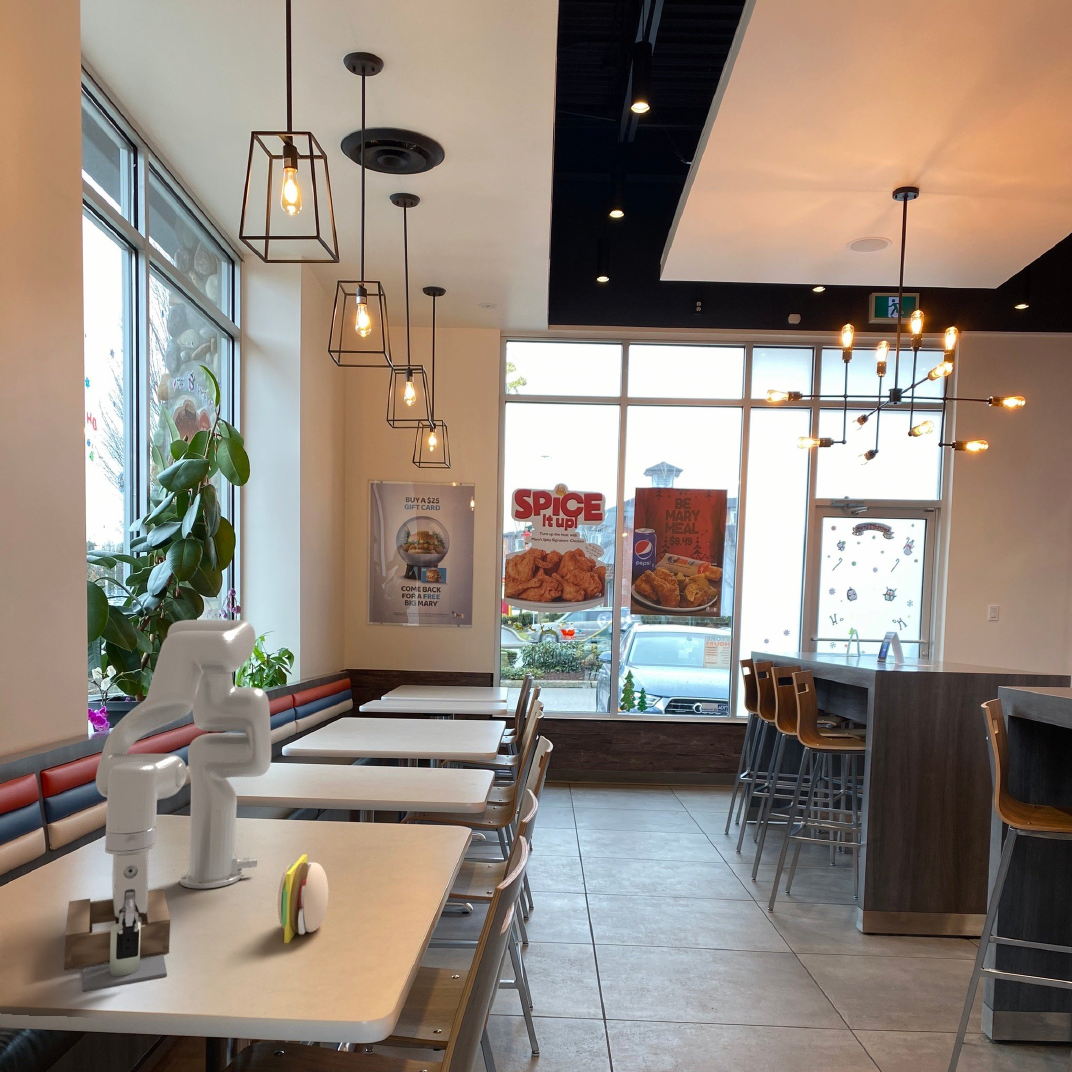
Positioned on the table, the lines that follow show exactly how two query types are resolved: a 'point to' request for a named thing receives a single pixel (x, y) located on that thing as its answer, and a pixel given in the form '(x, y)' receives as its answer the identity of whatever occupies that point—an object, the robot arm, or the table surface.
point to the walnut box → (93, 930)
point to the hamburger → (302, 898)
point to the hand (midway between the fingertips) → (126, 946)
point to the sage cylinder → (122, 965)
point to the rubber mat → (103, 978)
